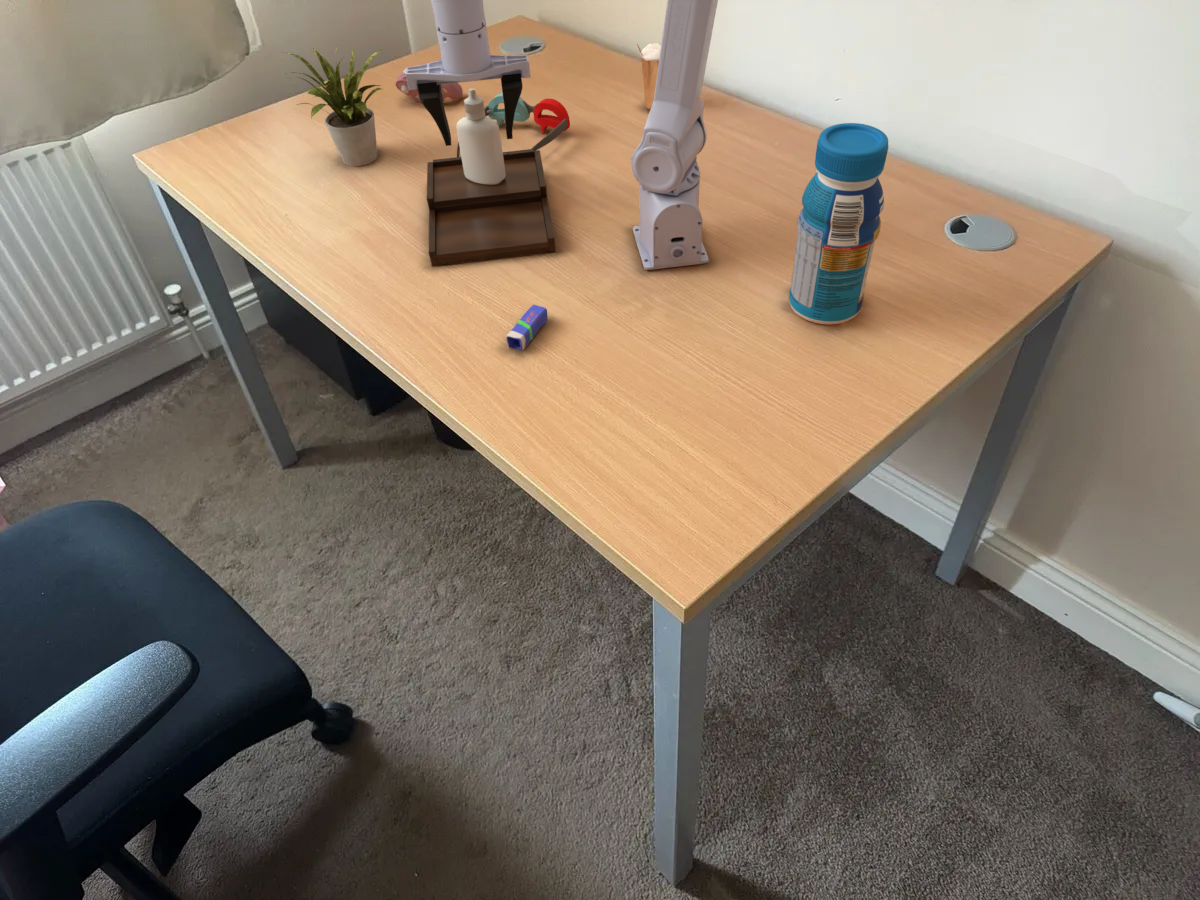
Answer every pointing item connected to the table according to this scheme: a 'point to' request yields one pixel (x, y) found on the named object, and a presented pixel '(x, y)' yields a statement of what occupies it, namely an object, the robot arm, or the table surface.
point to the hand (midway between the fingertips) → (479, 138)
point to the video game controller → (447, 91)
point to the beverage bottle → (839, 224)
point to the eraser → (527, 327)
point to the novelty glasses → (523, 114)
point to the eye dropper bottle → (480, 144)
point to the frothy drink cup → (650, 70)
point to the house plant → (346, 111)
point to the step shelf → (488, 211)
